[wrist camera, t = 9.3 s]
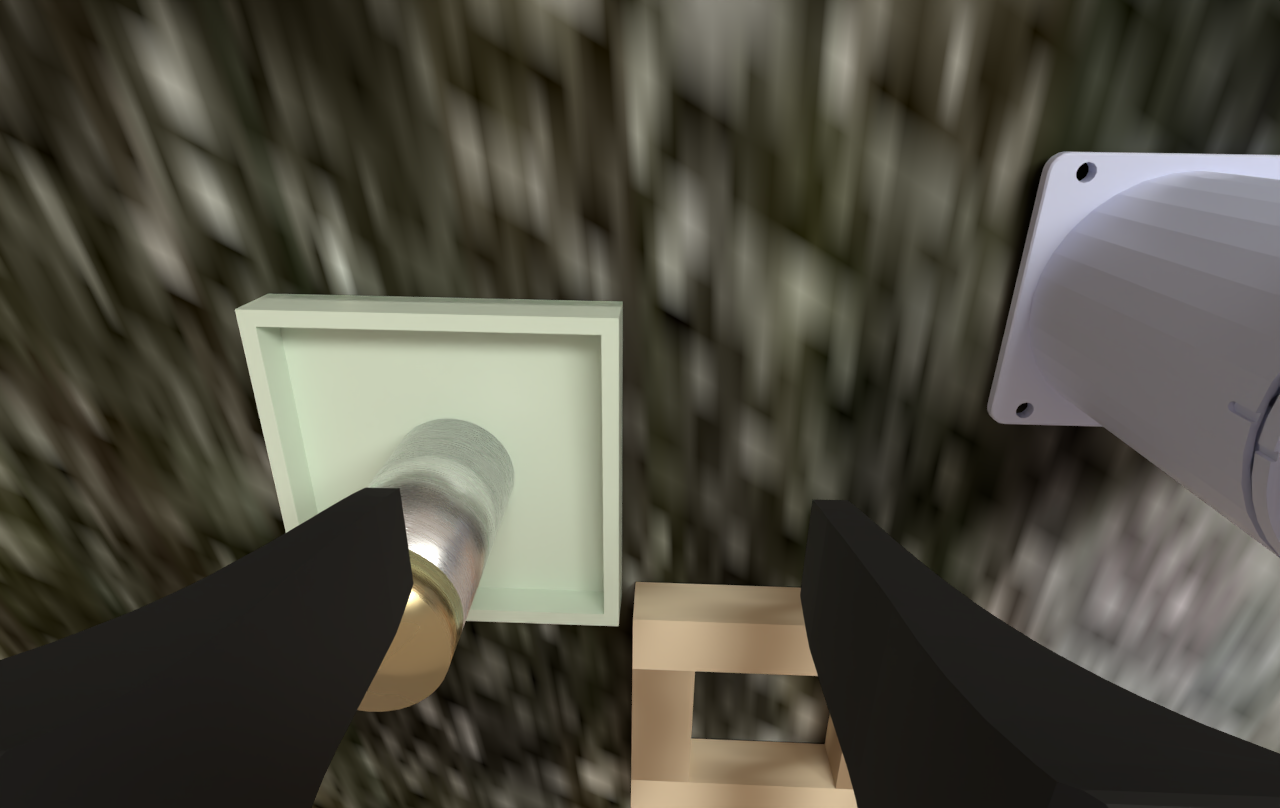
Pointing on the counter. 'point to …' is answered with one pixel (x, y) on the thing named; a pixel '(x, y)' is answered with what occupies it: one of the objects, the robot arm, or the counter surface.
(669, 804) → the tan square frame
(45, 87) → the counter surface
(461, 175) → the counter surface
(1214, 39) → the counter surface
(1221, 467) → the robot arm
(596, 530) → the tray
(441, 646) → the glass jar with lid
